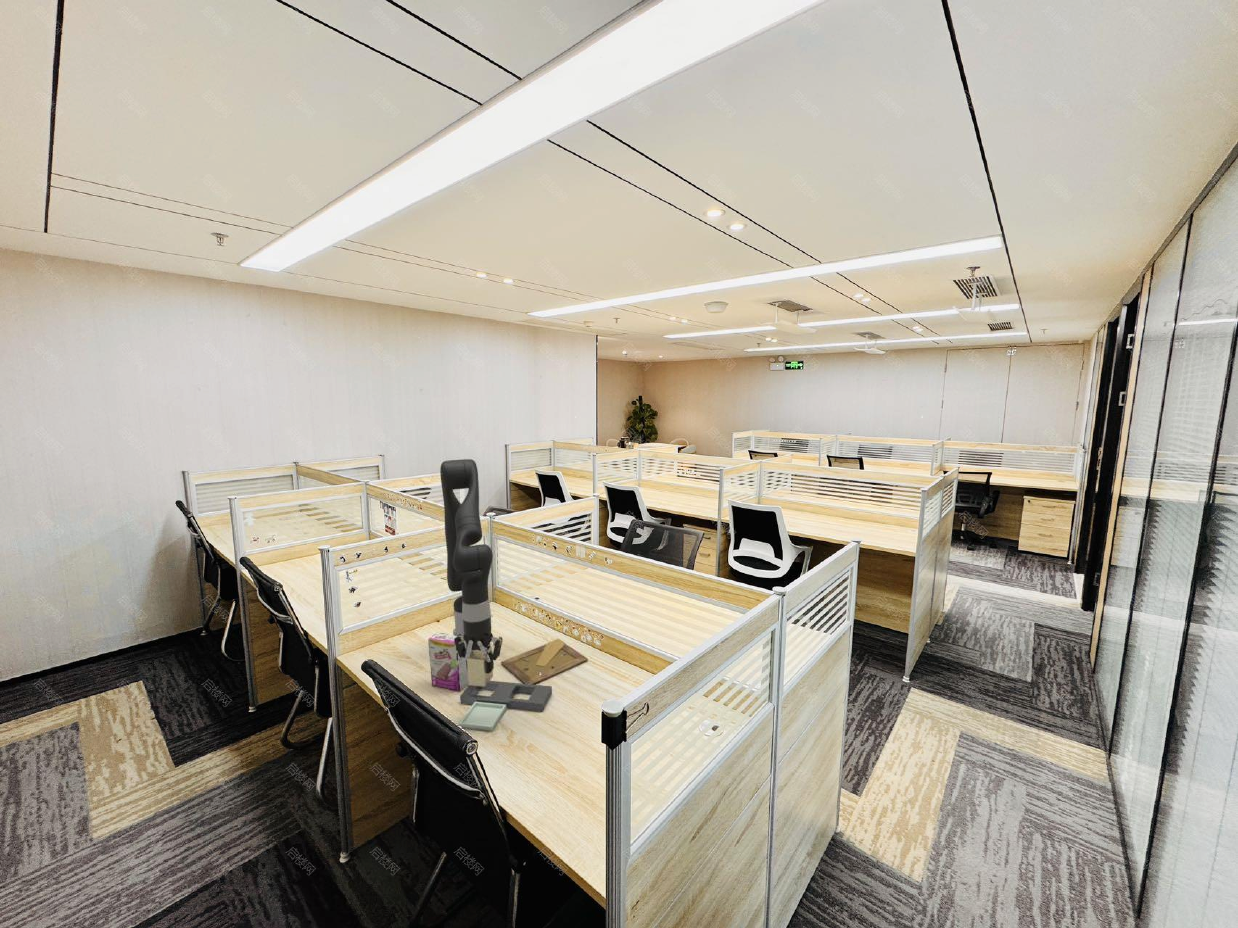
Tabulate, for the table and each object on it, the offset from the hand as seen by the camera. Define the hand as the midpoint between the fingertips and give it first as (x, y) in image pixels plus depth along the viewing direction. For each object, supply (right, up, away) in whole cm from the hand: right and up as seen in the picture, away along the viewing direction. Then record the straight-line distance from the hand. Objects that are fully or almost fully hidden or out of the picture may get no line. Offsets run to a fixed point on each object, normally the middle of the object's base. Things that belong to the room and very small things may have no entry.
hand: (480, 671), depth 144 cm
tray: (0, -15, +2) cm, 15 cm away
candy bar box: (-15, -13, +19) cm, 27 cm away
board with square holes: (+5, -13, +11) cm, 18 cm away
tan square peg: (0, -3, 0) cm, 3 cm away
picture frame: (+14, -11, +31) cm, 36 cm away
